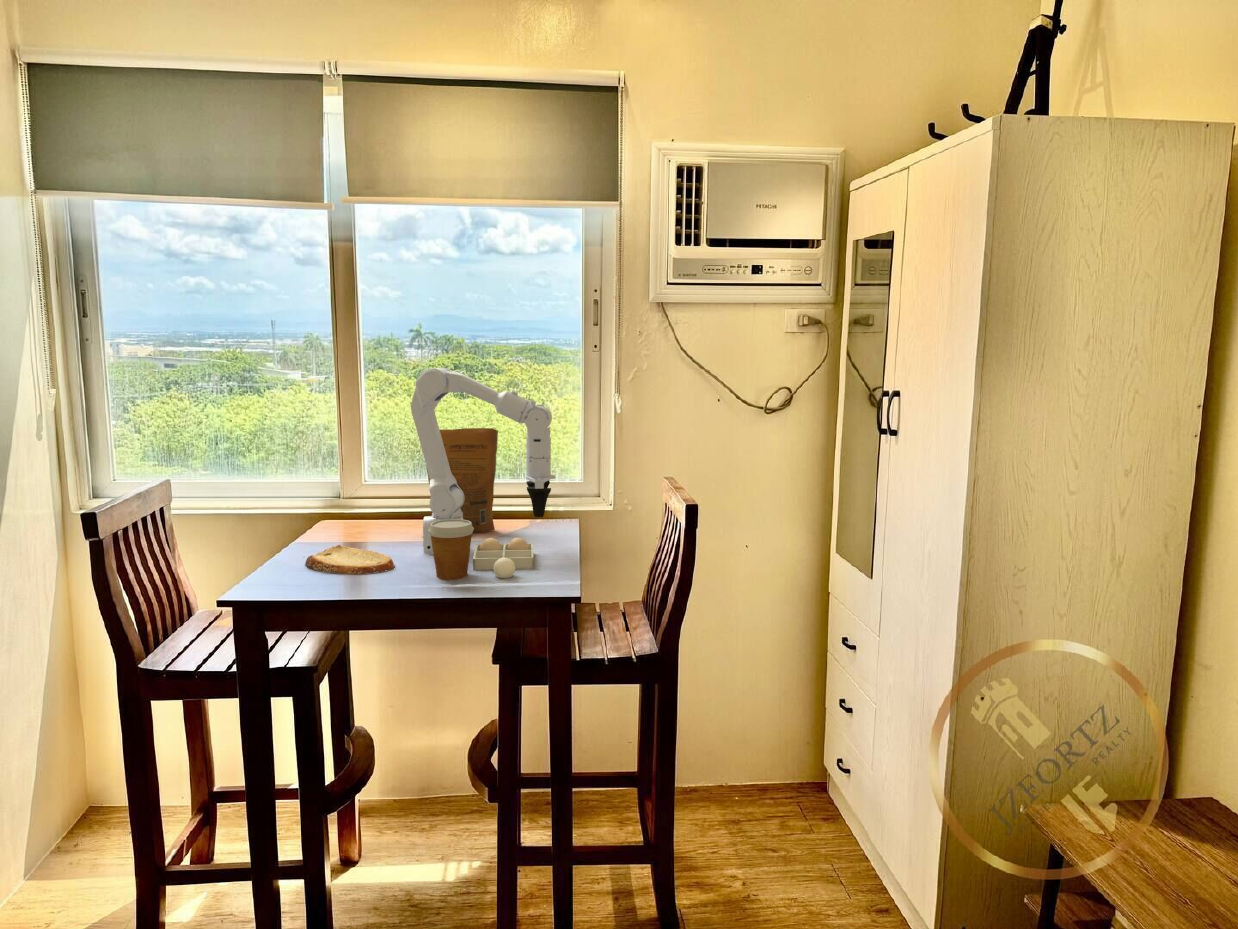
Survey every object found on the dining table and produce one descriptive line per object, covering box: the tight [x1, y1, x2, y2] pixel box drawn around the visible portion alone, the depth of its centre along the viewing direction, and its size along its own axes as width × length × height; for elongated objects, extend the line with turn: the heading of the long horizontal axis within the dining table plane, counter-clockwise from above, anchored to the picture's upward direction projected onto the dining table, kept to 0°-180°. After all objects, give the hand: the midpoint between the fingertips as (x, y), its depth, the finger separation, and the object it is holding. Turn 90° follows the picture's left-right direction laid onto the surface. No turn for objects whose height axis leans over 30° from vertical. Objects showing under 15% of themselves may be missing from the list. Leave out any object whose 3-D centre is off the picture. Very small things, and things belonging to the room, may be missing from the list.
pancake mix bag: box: [425, 427, 499, 534], centre depth 213 cm, size 7×19×28 cm, turn 92°
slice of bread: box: [305, 544, 396, 575], centre depth 181 cm, size 18×18×4 cm
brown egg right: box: [508, 537, 528, 550], centre depth 187 cm, size 5×5×5 cm
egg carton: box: [472, 542, 534, 571], centre depth 183 cm, size 13×13×3 cm
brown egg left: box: [480, 537, 501, 551], centre depth 186 cm, size 5×5×5 cm
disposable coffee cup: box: [428, 519, 474, 581], centre depth 171 cm, size 10×10×12 cm
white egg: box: [493, 558, 516, 579], centre depth 171 cm, size 5×5×5 cm
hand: (538, 513), depth 191 cm, fingers open, 7 cm apart
